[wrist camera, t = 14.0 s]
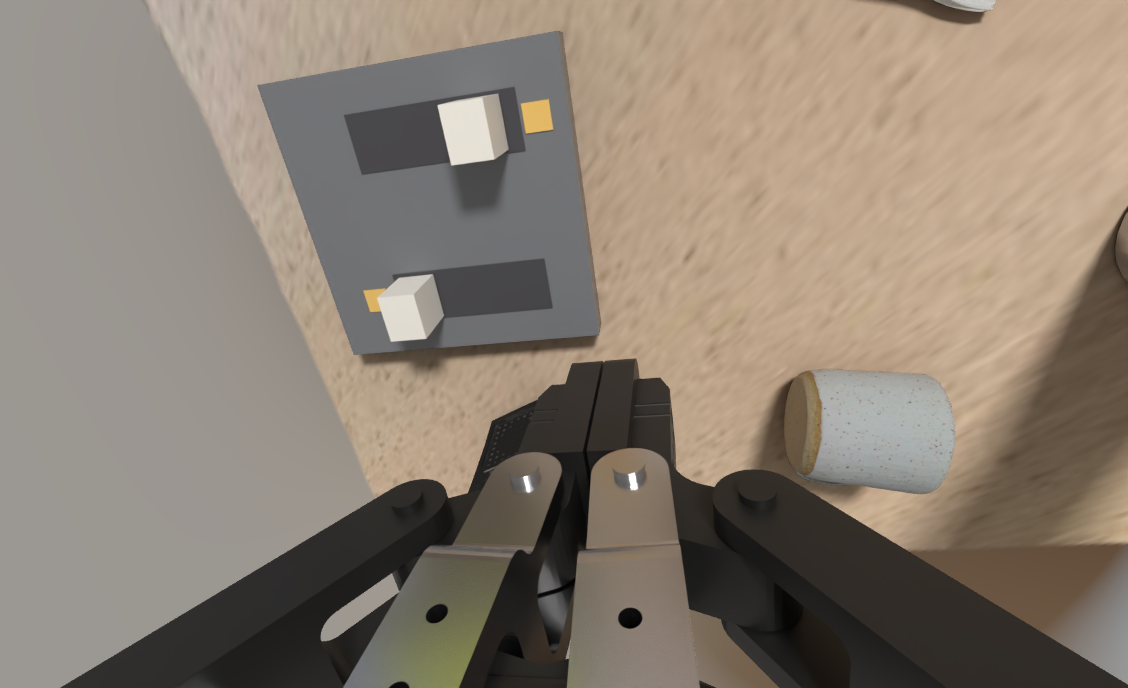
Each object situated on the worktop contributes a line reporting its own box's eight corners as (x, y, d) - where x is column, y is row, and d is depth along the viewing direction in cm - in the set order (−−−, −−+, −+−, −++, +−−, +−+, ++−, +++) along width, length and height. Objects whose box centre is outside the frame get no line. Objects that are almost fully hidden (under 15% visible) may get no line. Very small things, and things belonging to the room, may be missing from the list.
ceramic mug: (789, 347, 38) (820, 413, 32) (917, 352, 37) (977, 420, 31) (767, 467, 43) (789, 545, 37) (879, 474, 42) (923, 556, 36)
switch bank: (562, 32, 31) (557, 30, 29) (601, 322, 39) (598, 335, 37) (276, 83, 34) (256, 85, 33) (365, 342, 42) (353, 355, 40)
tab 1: (432, 274, 37) (413, 294, 34) (444, 315, 38) (426, 338, 35) (399, 277, 37) (376, 298, 34) (411, 318, 38) (390, 341, 35)
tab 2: (498, 93, 31) (482, 97, 28) (508, 149, 32) (494, 159, 29) (457, 100, 31) (437, 105, 28) (469, 155, 33) (451, 165, 30)
